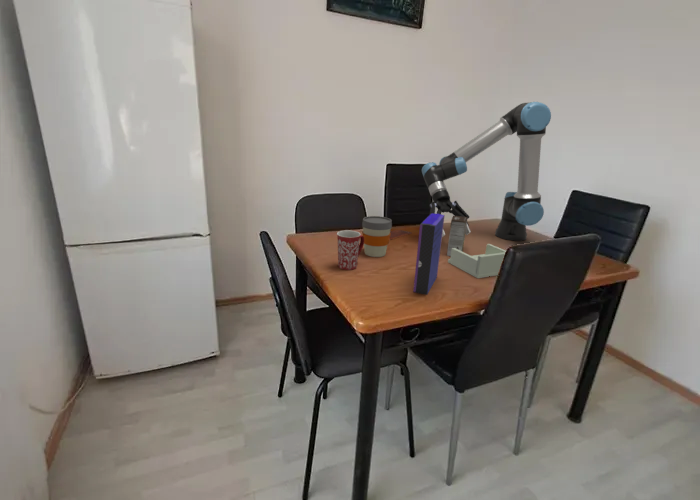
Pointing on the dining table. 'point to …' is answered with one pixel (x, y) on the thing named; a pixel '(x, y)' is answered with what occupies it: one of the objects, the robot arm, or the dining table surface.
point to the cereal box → (428, 253)
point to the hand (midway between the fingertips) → (455, 234)
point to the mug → (349, 248)
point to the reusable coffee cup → (376, 235)
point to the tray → (479, 261)
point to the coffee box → (457, 233)
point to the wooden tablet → (398, 234)
